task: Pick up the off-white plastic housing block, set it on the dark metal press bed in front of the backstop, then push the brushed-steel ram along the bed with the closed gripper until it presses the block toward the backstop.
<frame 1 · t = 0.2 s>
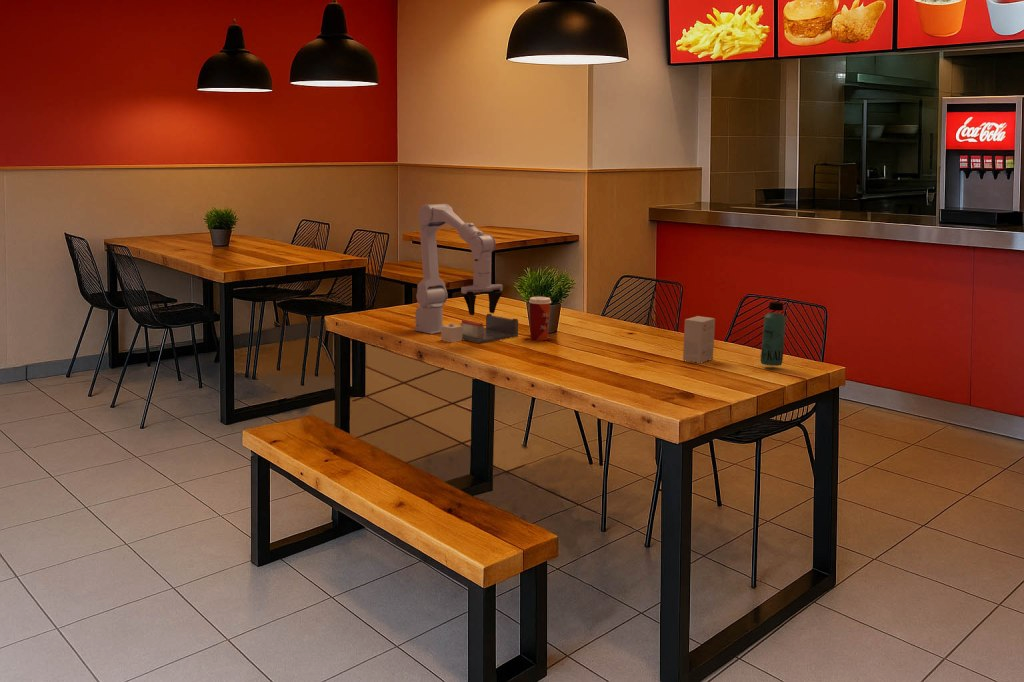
hand: (481, 313, 302), 10 cm above the table, tool pointing down, fingers open, 7 cm apart
ram: (472, 328, 309), point 4 cm above the table, slide at 0.0 cm
housing: (451, 340, 307), on the table
small box: (697, 360, 285), on the table
paper cup: (539, 339, 312), on the table
beverage bottle: (771, 369, 275), on the table
press: (484, 336, 314), on the table
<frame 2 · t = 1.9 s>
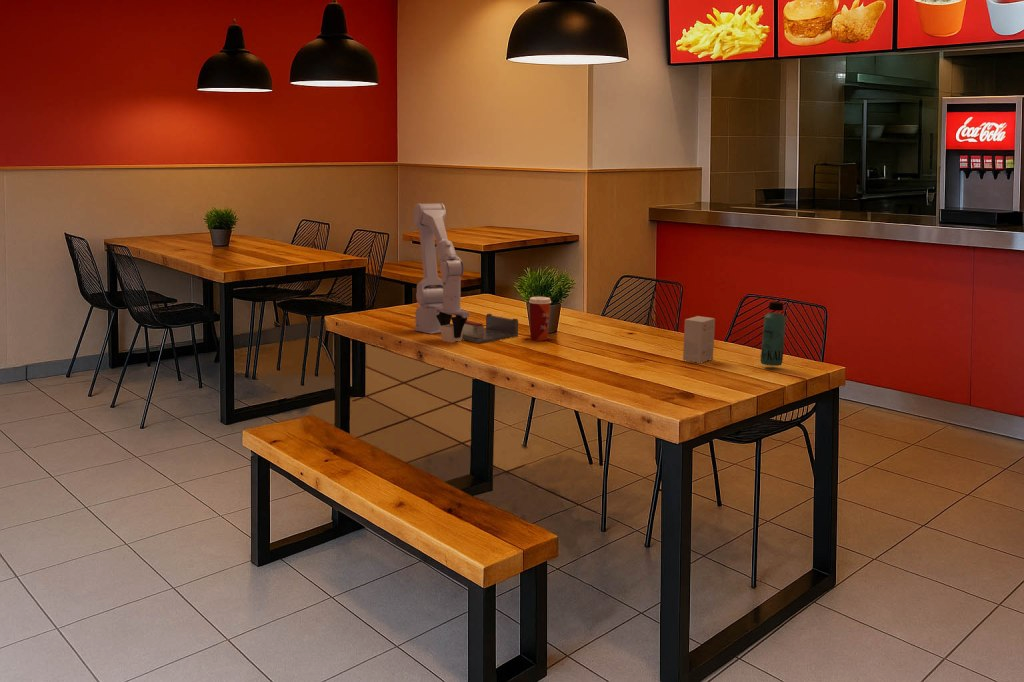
hand: (451, 336, 307), 1 cm above the table, tool pointing down, fingers closed on housing, 5 cm apart
housing: (451, 340, 307), on the table, touching gripper
everything else where it was.
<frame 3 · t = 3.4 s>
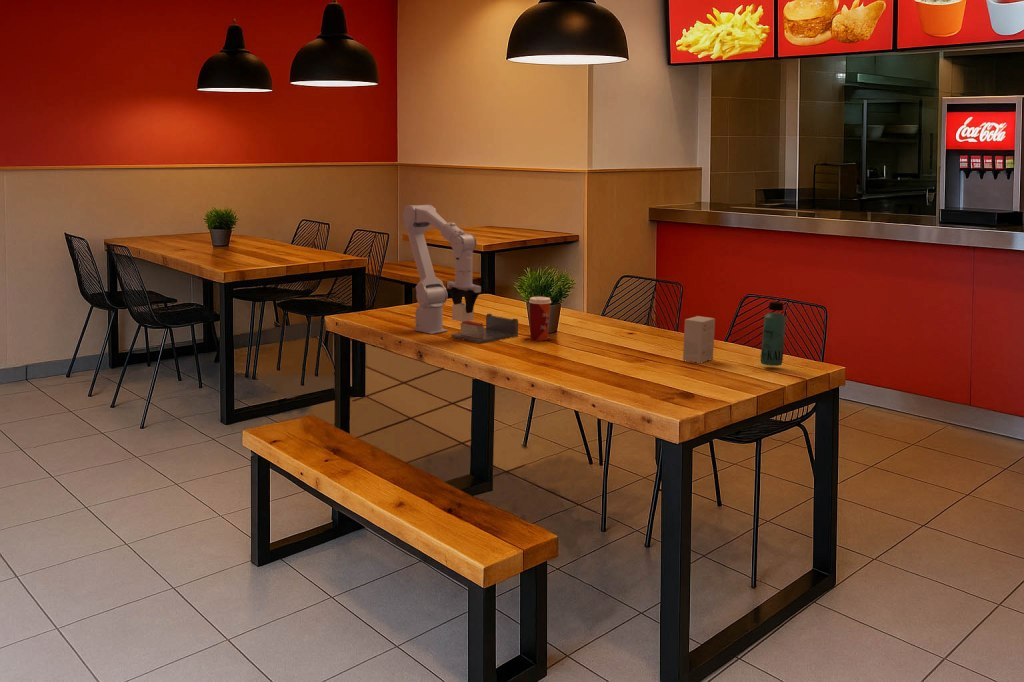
hand: (463, 311, 308), 9 cm above the table, tool pointing down, fingers closed on housing, 5 cm apart
housing: (462, 319, 308), point 7 cm above the table, touching gripper
everything else where it was.
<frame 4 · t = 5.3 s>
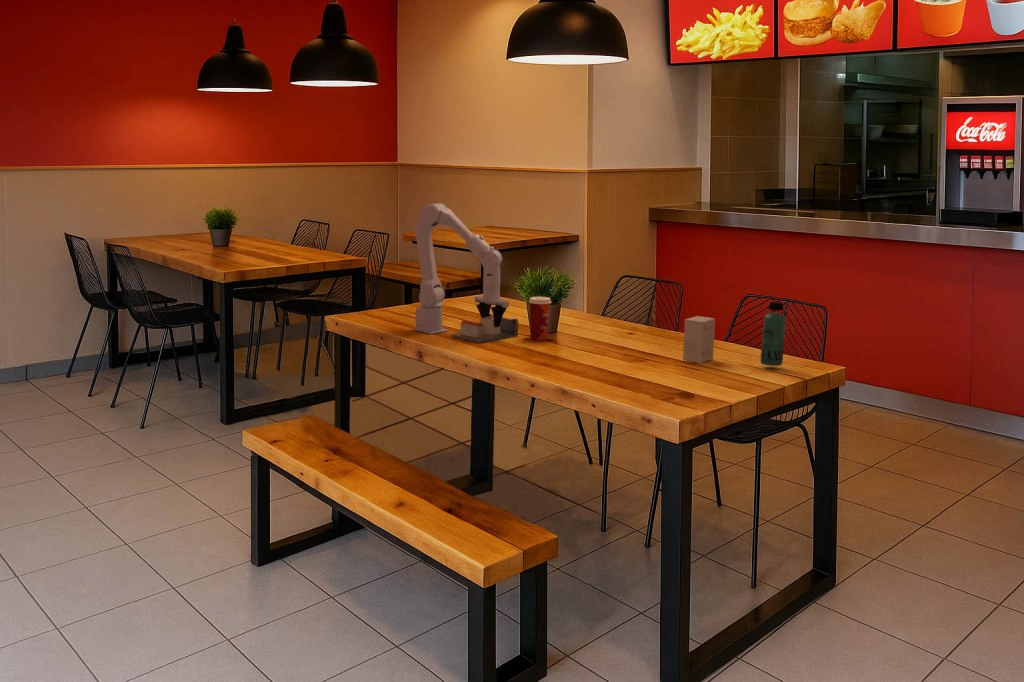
hand: (491, 325, 315), 3 cm above the table, tool pointing down, fingers closed on housing, 5 cm apart
housing: (489, 333, 315), point 1 cm above the table, touching gripper, press
everything else where it was.
when the fingers open (3 cm above the table, at t = 5.7 s): housing stays where it is, resting on press.
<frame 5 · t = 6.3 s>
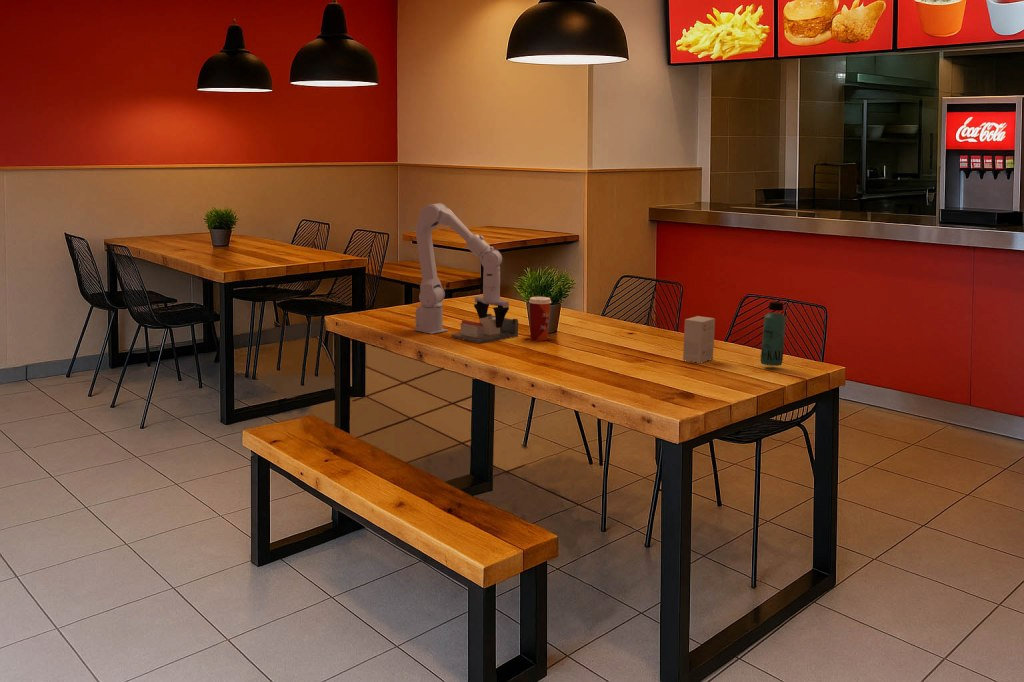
hand: (491, 325, 315), 3 cm above the table, tool pointing down, fingers open, 7 cm apart
housing: (489, 333, 315), point 1 cm above the table, touching press
everything else where it was.
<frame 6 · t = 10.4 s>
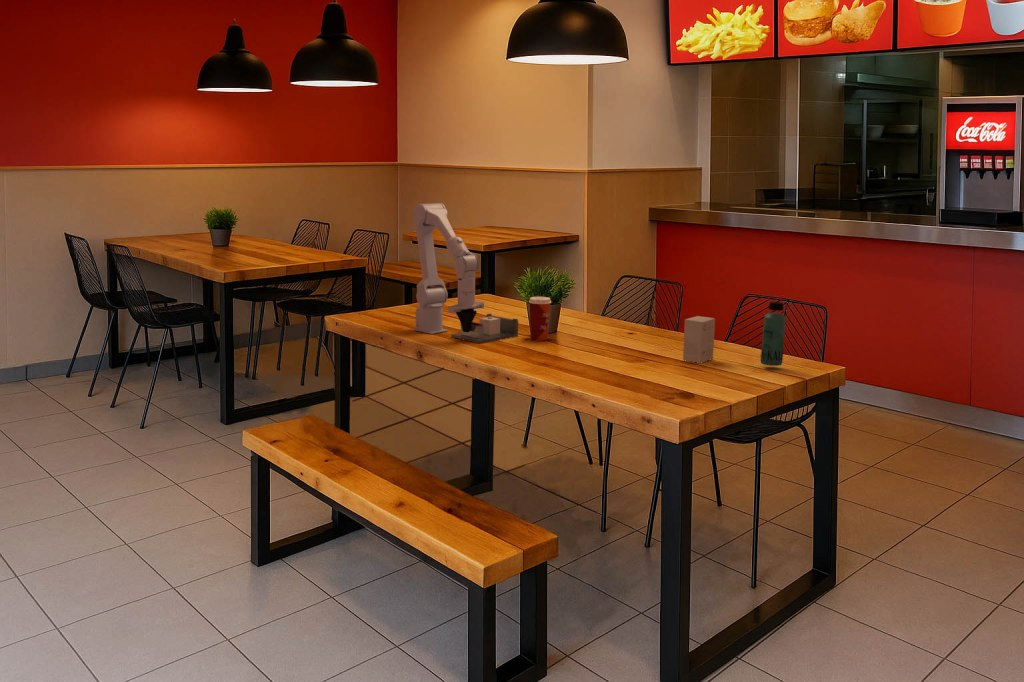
hand: (466, 331, 307), 3 cm above the table, tool pointing down, fingers closed
ram: (472, 328, 309), point 3 cm above the table, slide at 0.0 cm, touching gripper
everything else where it was.
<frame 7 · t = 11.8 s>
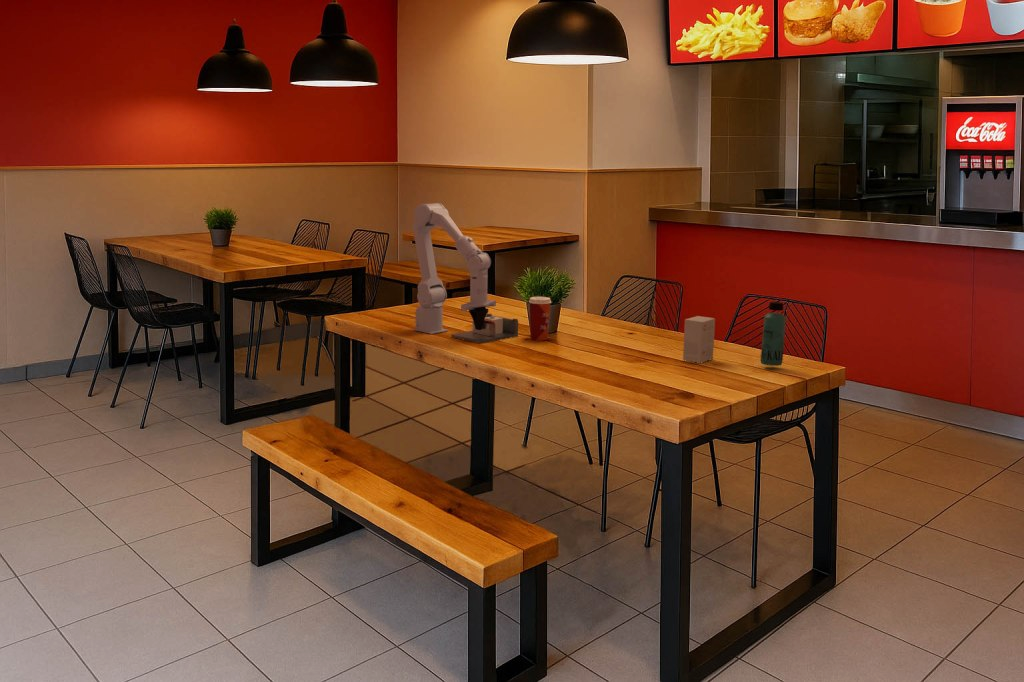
hand: (478, 329, 311), 3 cm above the table, tool pointing down, fingers closed
ram: (483, 326, 313), point 3 cm above the table, slide at 5.5 cm, touching gripper, housing
housing: (492, 332, 316), point 1 cm above the table, touching press, ram
everything else where it was.
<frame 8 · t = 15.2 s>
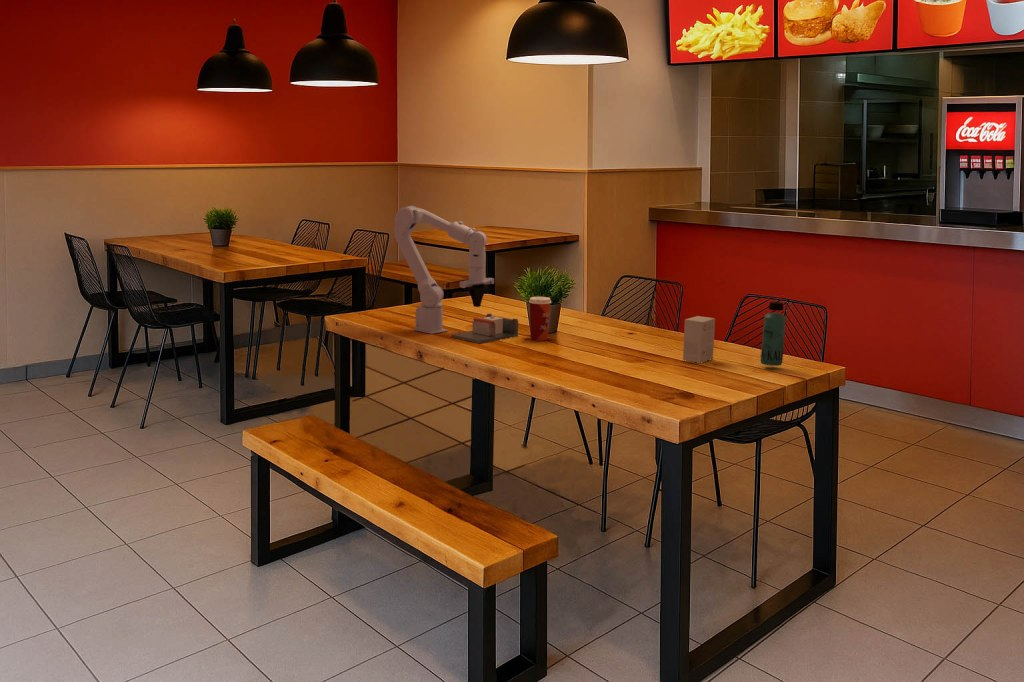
hand: (476, 306, 317), 9 cm above the table, tool pointing down, fingers closed
ram: (483, 326, 313), point 4 cm above the table, slide at 5.5 cm, touching housing
everything else where it was.
at the end: ram slide at 5.5 cm; housing inside the target area (0.2 cm from its centre), point 1.0 cm above the table; housing tilted 0° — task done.
